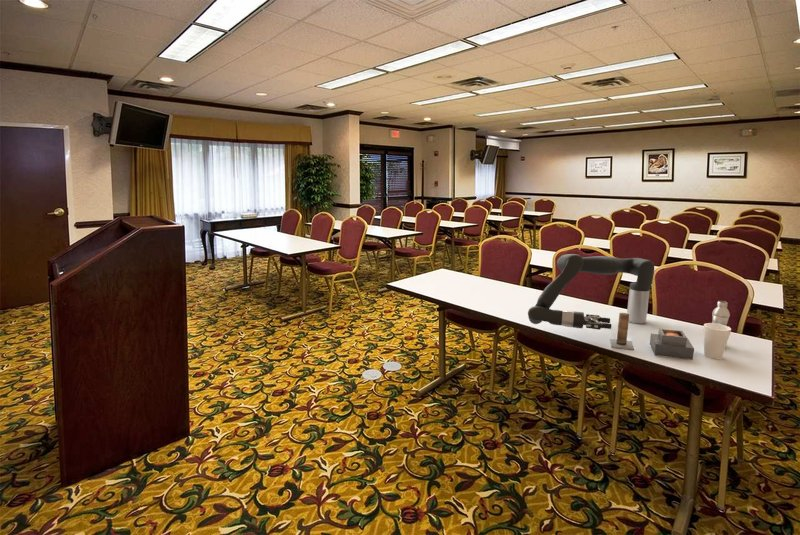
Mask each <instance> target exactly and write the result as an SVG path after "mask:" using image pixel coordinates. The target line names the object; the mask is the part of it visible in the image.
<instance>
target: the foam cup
mask: <svg viewBox="0 0 800 535" xmlns="http://www.w3.org/2000/svg"><path fill="white" fill-rule="evenodd" d="M702 328H703V329H702V331H703V355H704V356H705V357H707V356H708V357H707V358H710V357H711V359H714V358H716V359H717V358H719V359H717V360H721V359H723V357H724V353H725V351H726V350H725V349H726V347H727V344H728V340H729V337H730V336H731V331H732V328H731V327H730V326H725V325H721V324H715V323H712V322H708V323H704V324H703V327H702ZM716 359H715V360H716Z"/></svg>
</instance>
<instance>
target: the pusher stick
mask: <svg viewBox="0 0 800 535" xmlns="http://www.w3.org/2000/svg"><path fill="white" fill-rule="evenodd" d="M629 323H630V322H629V314H628V313H627V312H619V314H618V324H617V332H616V333H617V334H616V335H617V336H616V339H617V344H619V345H626V342H627V341H628V331H629Z"/></svg>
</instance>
